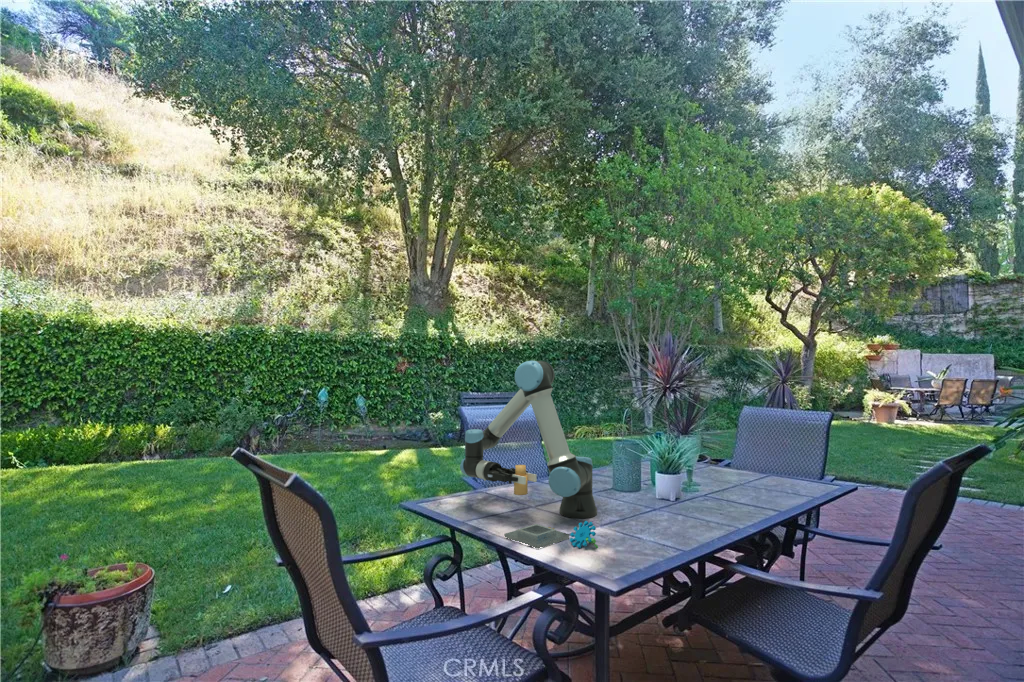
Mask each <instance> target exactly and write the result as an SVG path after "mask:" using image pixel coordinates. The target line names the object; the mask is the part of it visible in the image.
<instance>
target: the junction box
mask: <svg viewBox="0 0 1024 682" xmlns="http://www.w3.org/2000/svg"><path fill="white" fill-rule="evenodd" d="M504 536H505V537H507V538H509V539H512V540H515V541H519V542H522V543H525V544H528V545H530V546H533V547H535V548H540V547H543V546H546V547H548V546H547V545H549V546H551V545H550V544H552V545H554V544H553V543H555V544H557V542H558V543H560V541H561V542H563V540H564V541H566V540H570V534H568V533H566V532H563V531H559V530H557V529H555V527H551V526H544V525H541V524H538V523H535V524H532V525H528V526H524V527H521V528H517V529H516V530H512V531H509V532H505V533H504ZM504 536H503V537H504ZM543 548H544V547H543ZM540 549H541V548H540Z"/></svg>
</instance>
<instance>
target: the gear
mask: <svg viewBox="0 0 1024 682" xmlns="http://www.w3.org/2000/svg"><path fill="white" fill-rule="evenodd" d="M572 529H573V530H574V531H575V533H574V532H573V531H572V532H571V533H570V534H569V542H570V543H571V545H572V546H573V548H576V547H577V549H581V548H582V546H583V547H587V546H588V544H589V545H591V546H594V547H595V548H596V549H598V548H599V546H598V545H597V541H596V539H595V538H594V537H595V536H596V534H597V533H596V529H597V526H595V525H594V523H593V521H588V520H585V521H584V522H582V521H581V522H579V523H578V526H574V527H573V528H572ZM591 536H593V537H591Z"/></svg>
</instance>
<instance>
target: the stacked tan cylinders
mask: <svg viewBox="0 0 1024 682" xmlns="http://www.w3.org/2000/svg"><path fill="white" fill-rule="evenodd" d="M514 469H515V474H514V475H519V476H524V477H526V484H525V485H524V484H519V483H515V482H513V495H516V496H526V495H528V489H529V488H528V487H529V486H528V485H529V484H528V483H529V481H528V475H527V474H526V471H527V466H526V464H515V468H514Z"/></svg>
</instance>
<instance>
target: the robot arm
mask: <svg viewBox="0 0 1024 682" xmlns="http://www.w3.org/2000/svg"><path fill="white" fill-rule="evenodd" d="M554 380H555V370H554V368H553V366H552V365H551V364H550V363H549V362H547V361H543V360H527V361H524V362H522V363H521V364H520V365H518V367H517V368H516V370H515V372H514V382H515V384H516V386H517V387H518V388H519V390H518V391H517V392H516V393H515V394H514V395H513V397H512V398H511V399H510V400H509V401H508V403H507V404H506V405H505V406H504V407H503V408H502V410H501V411H500V412H498V414H497V415H496V416H495V417H494V419H493V420H492V421H491V422H490V423H489V425H488V426H487V427H486V428H485V429H484V431H483V429H478V428H477V429H473V428H472V429H468V430H465V437H464V446H465V448H464V451H465V452H464V453H465V457H464V458H462V459H461V462H460V464H459V469H460V472H461V473H462V474H463V475H465V476H467V477H471V478H476V479H480V480H483V481H488V482H489V481H490V482H503V483H507V482H508V484H509V485H510V484H512V483H514V482H515V483H519V484H524V485H525V484H526V477H524V476H519V475H514V474H515V468H514V467H509V468H507V467H502V465H501V464H500V463H498V462H497V461H490V460H487V459H486V460H484V451H486V450H488V449H493V448H495V447H496V446H498V445H499V443H500V441H501V438H502V437H503V436H504V435H505V434H506V432H507V431H508V430H509V429H510V428H511V427H512V425H514V424H515V423H516V421H517V420H518V419H519V417H521V415H523V414H524V412H525V411H526V410H527V409H528V407H529V406H531V407H532V411H533V415H534V417H535V420H536V422H537V425H538V430H539V431H540V435H541V438H542V441H543V444H544V447H545V451H546V453H547V456H548V459H549V460H548V462H547V464H546V465H547V468H548V469H547V470H548V471H549V472H548V473H549V475H548V479H547V480H548V486H549V488H550V490H551V491H552V492H553V493H554V494H555V495H557V496H559V497H561V499H562V500H561V501H560V502H561V504H560V506H559V514H560V515H561V514H562V515H561V516H563V515H564V517H566V516H567V517H568V518H572V519H588V518H593V517H595V516H597V515H598V507H597V506H596V502H595V498H594V493H593V467H594V466H593V460H592V458H591V457H587V456H577V455H576V454H574V453H571V451H570V448H569V445H568V443H567V442H568V441H567V440H566V439H567V438H566V435H565V433H564V430H563V428H562V423H561V421H560V418H559V415H558V412H557V410H556V409H557V408H556V407H555V404H554V401H553V397H552V395H551V394H552V391H553V389H554V388H553V386H552V384H553V382H554ZM526 474H527V475H528V482H533V483H537V482H538V481H537V478H538V475H537V474H535V473H531V472H529V471H528V470H526ZM567 517H566V518H567Z"/></svg>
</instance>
